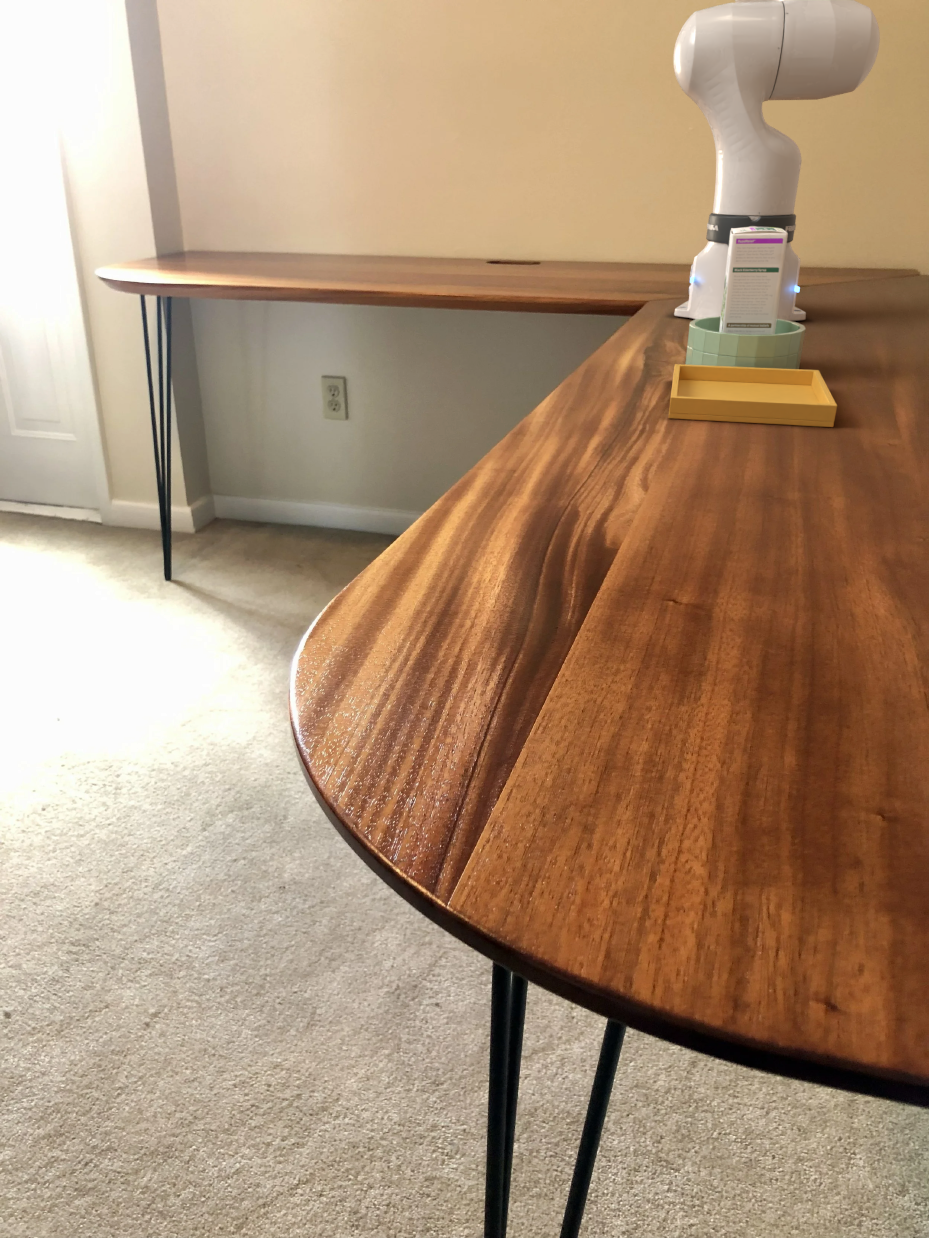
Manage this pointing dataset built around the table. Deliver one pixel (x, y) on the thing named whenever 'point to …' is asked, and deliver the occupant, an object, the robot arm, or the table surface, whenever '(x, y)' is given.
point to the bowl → (745, 346)
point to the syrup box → (753, 280)
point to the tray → (751, 395)
